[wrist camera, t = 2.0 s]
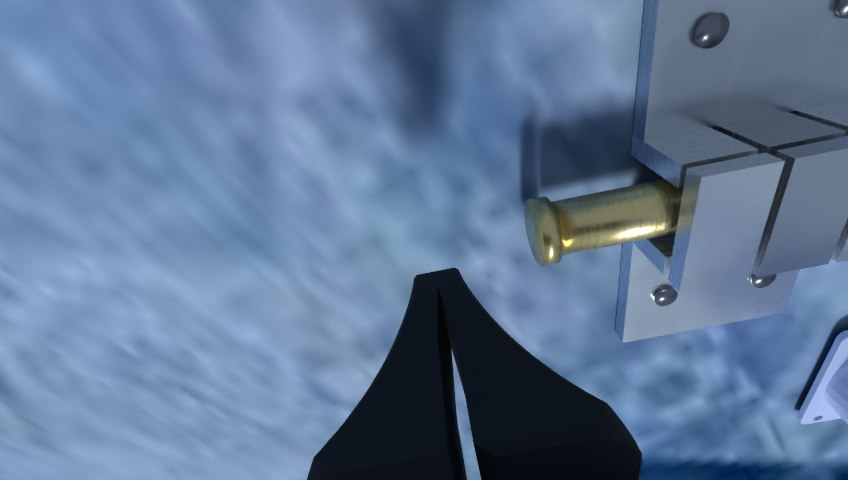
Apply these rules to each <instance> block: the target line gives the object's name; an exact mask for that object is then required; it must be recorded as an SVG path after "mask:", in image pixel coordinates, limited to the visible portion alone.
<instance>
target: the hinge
mask: <svg viewBox="0 0 848 480" xmlns="http://www.w3.org/2000/svg"><path fill="white" fill-rule="evenodd" d="M631 156H633V157H634V158H636V159H637V160H639V161H640V162H641V163H643V164H644V165H646V166H647V167H649V168H650V169H651V170H653V171H654V172H656V173H657V174H659V175H660V176H661V177H663V178H664V179H666V180H667V181H668V182H670V183H671V184H673V185H674V186H676V187H677V188H678V187H683V186H684V188H683V194H682V199H681V205H680V211H679V217H678V223H677V229H676V233H674V234H669V235H664V236H659V237H653V238H648V239H643V240H638V241H633V242H628V243H623V247H622V258H621V270H620V281H619V292H618V303H617V314H616V325H615V332H616V334H617V335H618V337H619V338H620V340H621V341H622V343H624V342H630V341H635V340H640V339H646V338H651V337H657V336H662V335H667V334H673V333H678V332H684V331H689V330H694V329H700V328H705V327H711V326H716V325H722V324H727V323H732V322H738V321H743V320H749V319H754V318H759V317H765V316H770V315H776V314H781V313H783V311H784V309H785V306H786V303H787V301H788V298H789V296H790V293H791V291H792V288H793V285H794V283H795V280H796V278H797V275H798V272H799V270H800V269H803V268H808V267H814V266H819V265H824V264H828V263H829V261H830V258H831V259H833V260H834V261H836V262H840V261H845V260H848V0H645V2H644V13H643V24H642V35H641V46H640V58H639V69H638V80H637V91H636V102H635V113H634V125H633V136H632V147H631Z"/></svg>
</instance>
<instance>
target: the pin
mask: <svg viewBox="0 0 848 480" xmlns="http://www.w3.org/2000/svg"><path fill="white" fill-rule="evenodd" d="M683 188H684V186H683V187H678V188H677V187H676V186H674V185H673V184H671V183H670V182H668V181H667V180H666V179H663V180H658V181H653V182H648V183H643V184H638V185H633V186H628V187H623V188H618V189H613V190H608V191H603V192H598V193H593V194H588V195H583V196H578V197H573V198H568V199H563V200H558V201H553V202H550V200H549V199H548V198H547V197H545V196H543V197H538V198H533V199H528V200H526V202H525V208H524V217H525V226H526V232H527V237H528V241H529V245H530V248H531V251H532V254H533V256H534V258H535V260H536V262H537V264H538V265H539V266H545V265H551V264H556V263H559V262H560V260H561V257H562V255H566V254H571V253H576V252H581V251H587V250H592V249H597V248H602V247H607V246H612V245H617V244H623V243H628V242H633V241H638V240H643V239H648V238H653V237H659V236H664V235H669V234H674V233H676V229H677V223H678V217H679V211H680V205H681V199H682V194H683Z"/></svg>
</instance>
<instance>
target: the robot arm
mask: <svg viewBox="0 0 848 480" xmlns="http://www.w3.org/2000/svg"><path fill="white" fill-rule="evenodd" d="M451 348H452V351H453V355H454V358H455V362H456V365H457V369H458V372H459V376H460V379H461V383H462V386H463V390H464V393H465V397H466V403H467V408H468V414H469V420H470V425H471V431H472V437H473V442H474V447H475V452H476V457H477V461H478V466H479V470H480V475H481V480H639V476H640V471H641V465H642V453H641V451H640V450H639V448H638V445H637V443H636V442H635V440H634V438H633V437H632V435H631V434H630V432H629V431H628V429H627V428H626V427H625V425H624V424H623V422H622V421H621V420H620V418H619V417H618V416H617V415H616V413H615V412H614V411H613V410H612V408H611V407H610V406H609V405H608V404H607V403H605V402H604V401H602V400H600V399H598V398H596V397H595V396H593V395H591V394H589V393H587V392H586V391H584V390H582V389H581V388H579V387H577V386H576V385H574V384H572V383H571V382H569V381H568V380H566V379H565V378H563V377H562V376H560V375H559V374H557V373H556V372H554V371H553V370H552V369H550V368H549V367H548V366H546V365H545V364H543V363H542V362H541V361H539V360H538V359H537V358H535V357H534V356H533V355H531V354H530V353H529V352H528V351H527V350H525V349H524V348H523V347H522V346H521V345H519V344H518V343H517V342H516V341H515V340H514V339H513V338H512V337H511V336H510V335H508V334H507V333H506V332H505V331H504V330H503V329H502V328H501V327H500V326H499V325H498V323H497V322H496V321H495V320H494V319H493V318H492V317H491V316H490V315H489V314H488V312H487V311H486V310H485V309H484V308H483V306H482V305H481V304H480V303H479V301H478V300H477V299H476V298H475V296H474V295H473V294H472V292H471V291H470V289H469V288H468V286H467V285H466V283H465V282H464V280H463V278H462V276H461V274H460V272H459V270H458V269H456V268H450V269H445V270H440V271H435V272H430V273H425V274H420V275H417V276H416V277H415V278H414V283H413V289H412V293H411V297H410V300H409V304H408V307H407V310H406V313H405V316H404V319H403V322H402V324H401V327H400V329H399V332H398V334H397V336H396V339H395V341H394V343H393V346H392V348H391V350H390V352H389V354H388V356H387V358H386V360H385V362H384V363H383V365H382V367H381V369H380V371H379V372H378V374H377V376H376V377H375V379H374V381H373V382H372V384H371V386H370V387H369V389H368V390H367V392H366V393H365V395H364V396H363V398H362V399H361V401H360V402H359V403H358V405H357V406H356V407H355V409H354V410H353V411H352V413H351V414H350V415H349V417H348V418H347V419H346V421H345V422H344V423H343V425H342V426H341V427H340V428H339V429H338V431H337V432H336V433H335V434H334V435H333V436H332V437H331V439H330V440H329V441H328V442H327V443H326V444H325V445H324V447H323V448H322V449H321V450H320V451H319V452H318V453H317V454H316V456H315V457H314V459H313V461H312V465H311V468H310V471H309V474H308V478H307V480H467V477H466V471H465V465H464V459H463V453H462V447H461V441H460V435H459V430H458V423H457V414H456V403H455V390H454V377H453V364H452V351H451ZM840 418H842V419H843V420H844V421H845V422H846V423H847V424H848V330H845V331H843V332H841V333H840V334H839V335H838V336H837V337H836V339H835V341H834V343H833V345H832V347H831V349H830V351H829V353H828V355H827V357H826V359H825V361H824V363H823V365H822V367H821V369H820V371H819V373H818V375H817V377H816V379H815V381H814V383H813V384H812V386H811V388H810V390H809V392H808V394H807V396H806V398H805V400H804V402H803V404H802V406H801V408H800V410H799V412H798V414H797V419H798V420H799V421H800V422H801V423H802V424H811V423H817V422H822V421H828V420H834V419H840Z"/></svg>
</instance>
